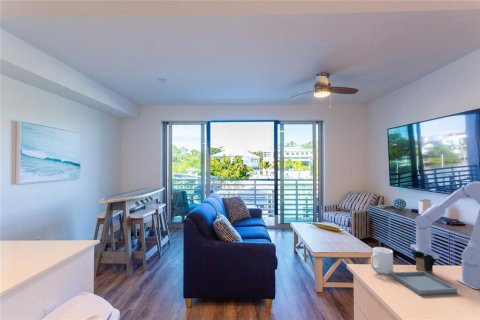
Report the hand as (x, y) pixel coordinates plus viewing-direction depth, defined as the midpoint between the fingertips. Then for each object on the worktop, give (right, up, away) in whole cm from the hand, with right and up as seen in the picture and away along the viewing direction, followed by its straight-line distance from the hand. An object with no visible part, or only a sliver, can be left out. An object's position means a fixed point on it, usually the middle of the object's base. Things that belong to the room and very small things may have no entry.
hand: (424, 268), depth 117 cm
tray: (-11, -1, -13) cm, 17 cm away
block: (0, -1, 0) cm, 1 cm away
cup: (-21, -2, 0) cm, 21 cm away
